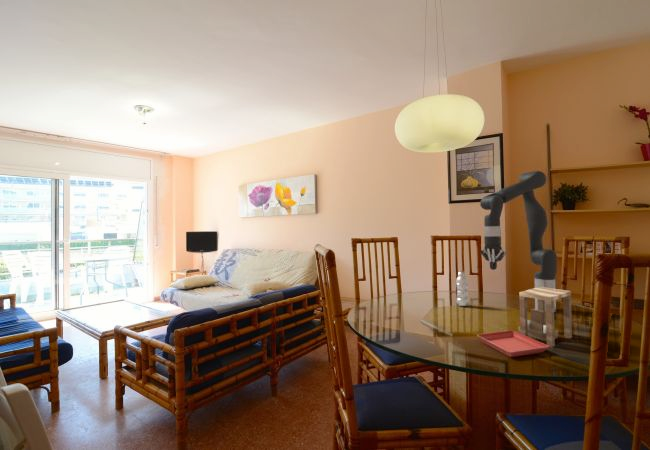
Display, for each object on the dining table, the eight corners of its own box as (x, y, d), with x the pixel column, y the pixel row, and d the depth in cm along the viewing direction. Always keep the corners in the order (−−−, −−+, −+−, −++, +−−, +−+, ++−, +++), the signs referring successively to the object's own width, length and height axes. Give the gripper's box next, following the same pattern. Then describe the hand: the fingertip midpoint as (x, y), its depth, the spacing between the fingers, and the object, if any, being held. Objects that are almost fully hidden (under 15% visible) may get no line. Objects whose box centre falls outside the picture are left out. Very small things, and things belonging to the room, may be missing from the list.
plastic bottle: (470, 307, 183) (469, 272, 183) (457, 307, 184) (456, 272, 184) (467, 304, 189) (466, 270, 189) (455, 304, 191) (454, 270, 190)
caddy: (528, 329, 145) (527, 305, 144) (558, 337, 134) (557, 311, 134) (518, 333, 141) (517, 308, 140) (548, 342, 130) (548, 315, 130)
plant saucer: (550, 354, 120) (550, 345, 120) (510, 360, 116) (509, 351, 116) (512, 337, 137) (512, 329, 137) (476, 342, 133) (475, 334, 133)
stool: (540, 329, 144) (539, 286, 144) (571, 337, 134) (570, 291, 134) (520, 337, 136) (519, 292, 135) (552, 347, 125) (551, 297, 125)
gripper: (475, 235, 165) (476, 268, 166) (501, 236, 154) (502, 271, 154) (484, 234, 169) (485, 267, 169) (509, 235, 158) (510, 270, 158)
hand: (493, 269), depth 162 cm, fingers closed
